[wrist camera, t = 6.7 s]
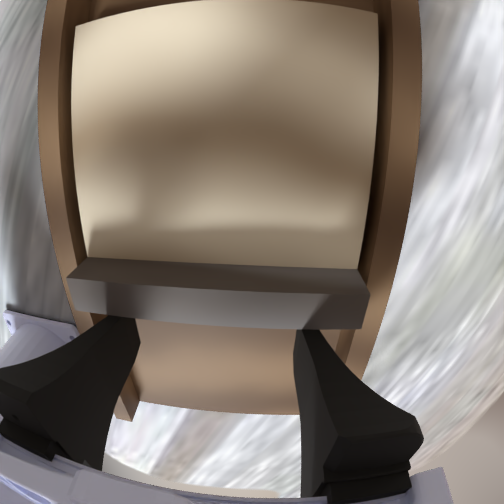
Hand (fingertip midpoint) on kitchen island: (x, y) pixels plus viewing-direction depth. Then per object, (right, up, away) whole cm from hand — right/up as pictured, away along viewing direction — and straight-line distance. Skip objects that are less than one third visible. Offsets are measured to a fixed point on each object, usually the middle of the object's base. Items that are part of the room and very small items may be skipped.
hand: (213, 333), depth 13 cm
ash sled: (0, +8, -1) cm, 8 cm away
